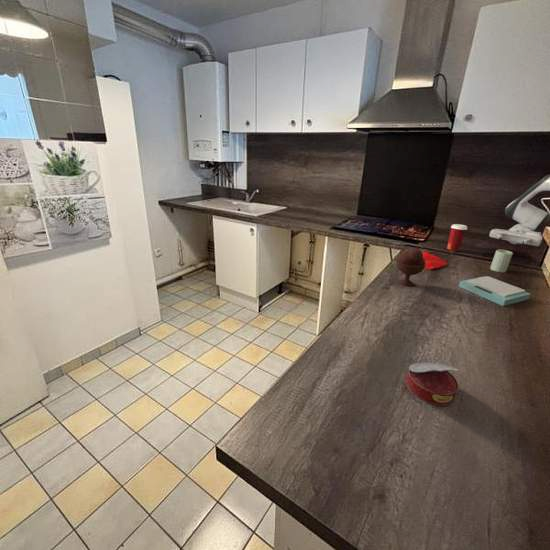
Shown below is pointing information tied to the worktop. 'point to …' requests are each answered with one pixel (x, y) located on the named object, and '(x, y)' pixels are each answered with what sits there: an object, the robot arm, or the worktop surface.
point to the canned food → (432, 382)
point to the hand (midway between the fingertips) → (512, 239)
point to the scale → (495, 290)
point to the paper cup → (456, 236)
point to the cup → (501, 260)
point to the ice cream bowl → (410, 264)
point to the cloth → (433, 261)
